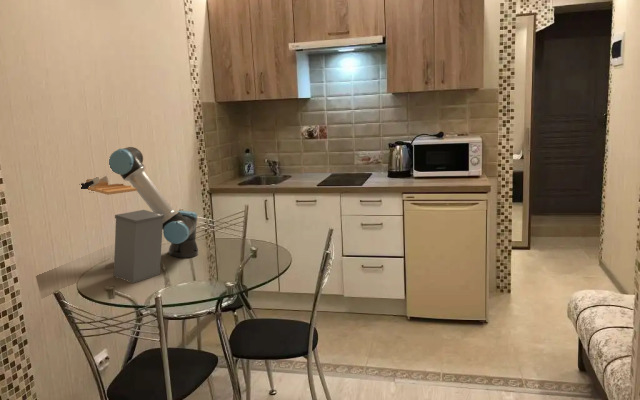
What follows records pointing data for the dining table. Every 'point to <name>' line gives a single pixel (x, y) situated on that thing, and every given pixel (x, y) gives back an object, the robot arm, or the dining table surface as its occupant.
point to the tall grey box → (138, 245)
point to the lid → (110, 188)
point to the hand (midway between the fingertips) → (102, 179)
